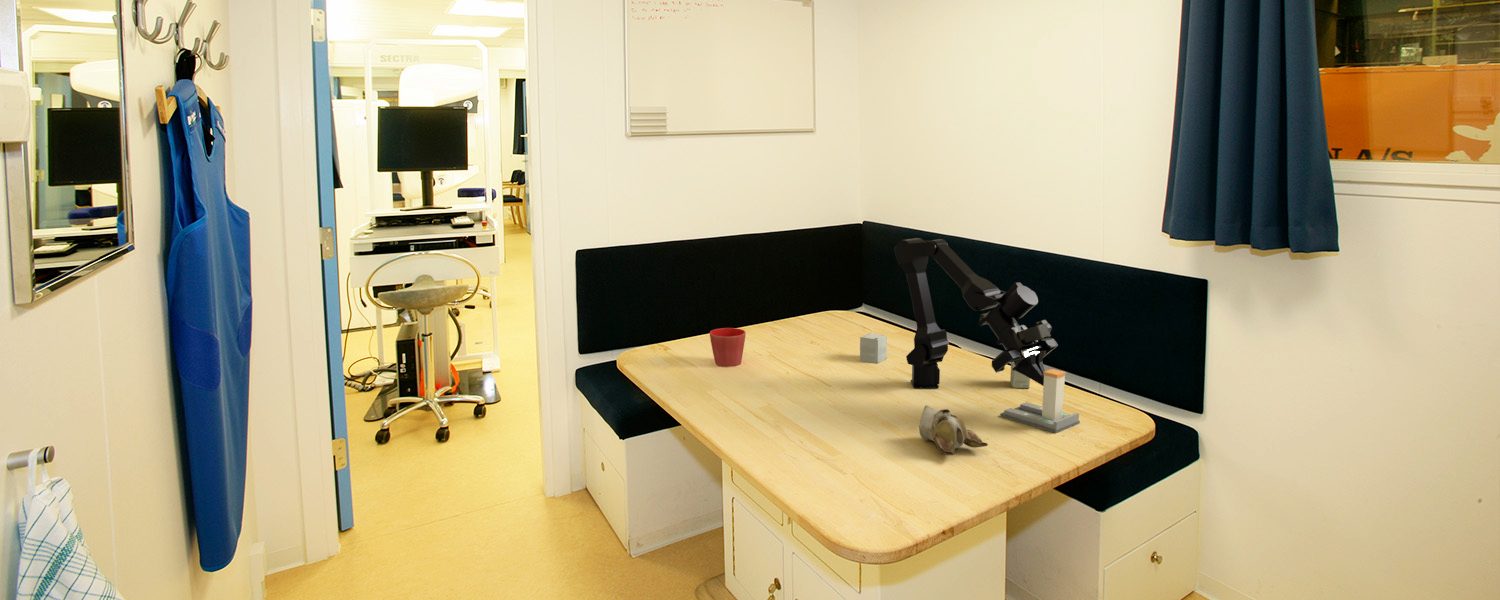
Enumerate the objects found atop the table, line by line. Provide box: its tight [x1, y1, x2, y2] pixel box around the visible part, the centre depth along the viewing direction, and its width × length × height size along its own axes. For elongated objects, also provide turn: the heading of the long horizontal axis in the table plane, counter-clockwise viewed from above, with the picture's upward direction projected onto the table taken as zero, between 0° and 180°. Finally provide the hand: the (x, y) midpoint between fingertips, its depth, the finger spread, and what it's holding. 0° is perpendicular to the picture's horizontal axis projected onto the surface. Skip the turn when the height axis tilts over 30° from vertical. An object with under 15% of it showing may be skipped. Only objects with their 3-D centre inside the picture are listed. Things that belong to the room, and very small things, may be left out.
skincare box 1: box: [859, 332, 888, 364], centre depth 238 cm, size 6×6×7 cm
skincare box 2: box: [1010, 362, 1031, 389], centre depth 211 cm, size 6×4×12 cm
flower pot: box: [709, 327, 747, 368], centre depth 237 cm, size 11×11×10 cm
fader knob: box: [1041, 368, 1067, 421], centre depth 183 cm, size 3×3×11 cm
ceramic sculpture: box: [918, 404, 989, 456], centre depth 171 cm, size 11×9×15 cm
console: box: [999, 401, 1081, 434], centre depth 187 cm, size 15×10×2 cm, turn 37°
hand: (1046, 385), depth 184 cm, fingers closed
